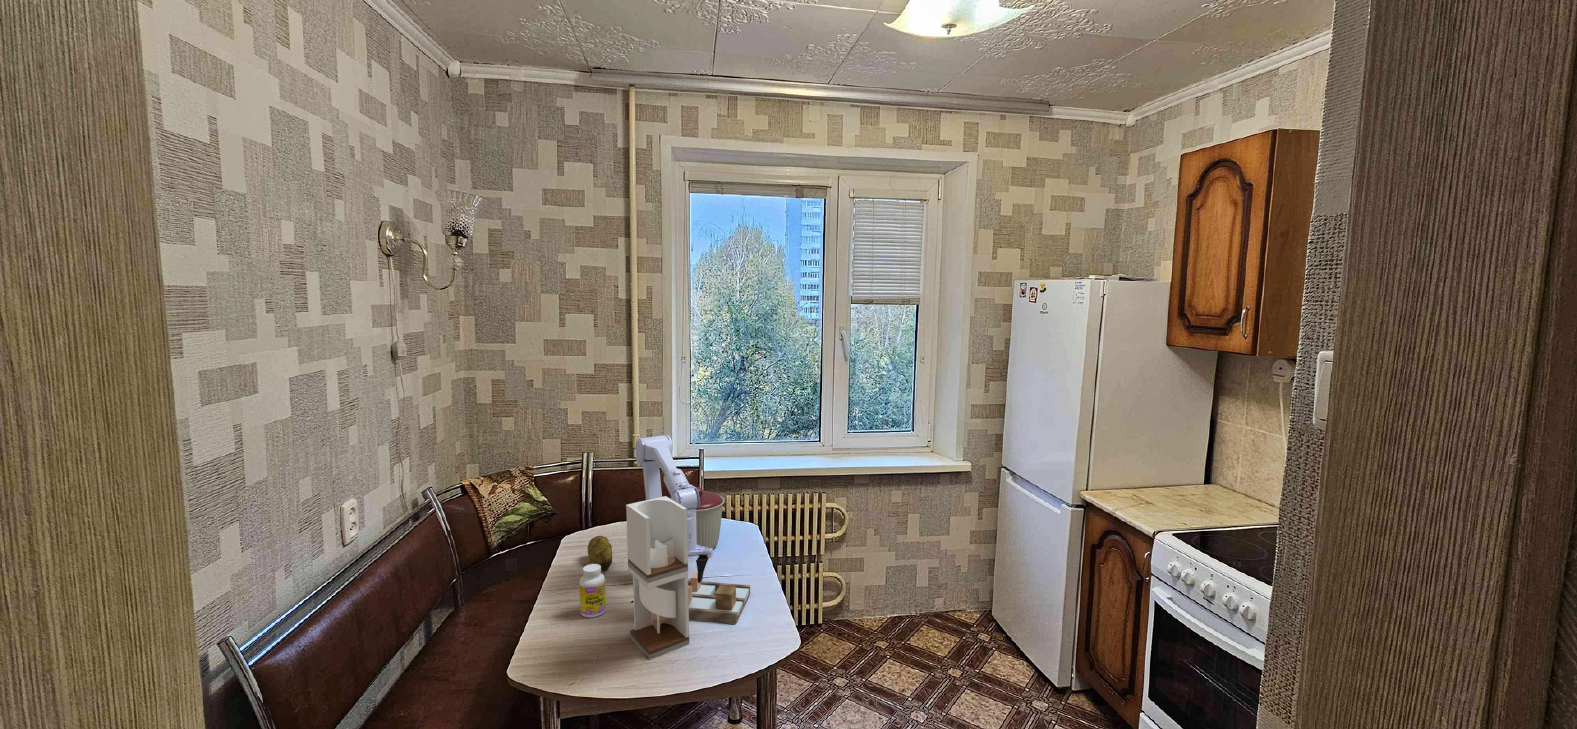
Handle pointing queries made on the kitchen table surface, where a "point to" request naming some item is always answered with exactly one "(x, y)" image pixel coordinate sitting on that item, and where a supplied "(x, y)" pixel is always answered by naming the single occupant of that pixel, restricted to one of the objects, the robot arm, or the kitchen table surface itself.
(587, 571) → the supplement bottle
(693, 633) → the kitchen table surface
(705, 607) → the strip front
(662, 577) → the white tiered stand
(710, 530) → the canister
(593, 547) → the potato
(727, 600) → the walnut block
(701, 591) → the broken strip
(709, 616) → the lane board
